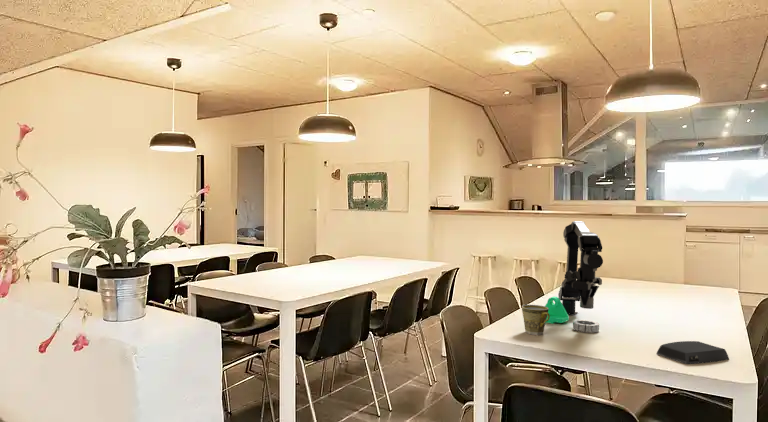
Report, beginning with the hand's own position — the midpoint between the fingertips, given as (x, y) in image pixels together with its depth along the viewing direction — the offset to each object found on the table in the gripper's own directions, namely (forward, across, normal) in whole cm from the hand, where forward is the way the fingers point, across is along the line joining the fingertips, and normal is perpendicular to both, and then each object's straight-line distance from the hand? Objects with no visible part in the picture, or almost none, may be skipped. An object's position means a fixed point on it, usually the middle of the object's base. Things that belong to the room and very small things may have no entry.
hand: (586, 304), depth 208 cm
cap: (+1, 0, 0) cm, 1 cm away
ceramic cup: (+10, +20, -12) cm, 26 cm away
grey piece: (+10, 0, 0) cm, 10 cm away
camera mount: (+11, -5, -16) cm, 20 cm away
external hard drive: (+11, +12, +39) cm, 42 cm away
